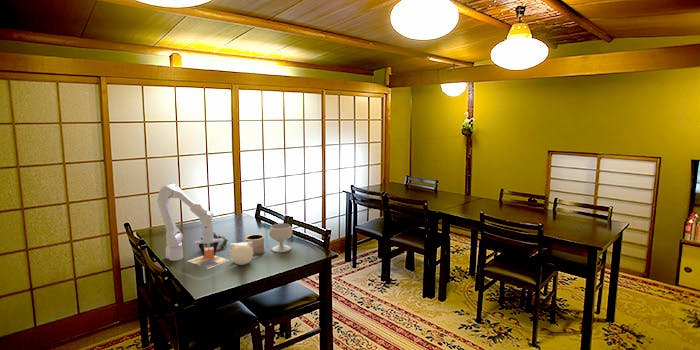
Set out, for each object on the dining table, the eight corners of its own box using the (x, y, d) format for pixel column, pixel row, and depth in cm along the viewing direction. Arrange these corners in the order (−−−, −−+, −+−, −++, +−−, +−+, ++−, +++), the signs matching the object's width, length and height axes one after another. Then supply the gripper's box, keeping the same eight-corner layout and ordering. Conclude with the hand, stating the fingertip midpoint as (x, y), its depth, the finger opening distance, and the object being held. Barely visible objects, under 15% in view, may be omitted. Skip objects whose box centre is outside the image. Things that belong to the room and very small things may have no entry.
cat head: (227, 270, 204) (226, 248, 202) (228, 261, 216) (227, 240, 214) (256, 267, 208) (255, 245, 206) (255, 258, 221) (254, 238, 219)
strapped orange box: (204, 256, 221) (204, 247, 220) (214, 255, 223) (213, 246, 222) (204, 259, 216) (204, 250, 215) (214, 258, 218) (213, 249, 217)
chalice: (265, 251, 232) (264, 227, 230) (279, 244, 244) (278, 221, 242) (283, 255, 226) (282, 230, 223) (297, 247, 238) (296, 224, 235)
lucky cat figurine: (223, 253, 228) (210, 235, 223) (206, 259, 231) (193, 242, 225) (230, 238, 242) (218, 221, 236) (214, 244, 244) (202, 228, 239)
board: (187, 263, 214) (186, 256, 213) (208, 255, 225) (208, 249, 225) (208, 270, 204) (208, 264, 203) (229, 262, 215) (229, 255, 214)
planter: (242, 253, 229) (241, 237, 228) (256, 247, 238) (255, 233, 236) (254, 256, 223) (254, 241, 222) (268, 251, 232) (267, 236, 231)
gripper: (193, 236, 211) (195, 259, 213) (221, 233, 215) (222, 256, 218) (194, 232, 218) (196, 255, 220) (221, 230, 222) (222, 252, 224)
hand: (209, 255), depth 219 cm, fingers closed on strapped orange box, 5 cm apart
